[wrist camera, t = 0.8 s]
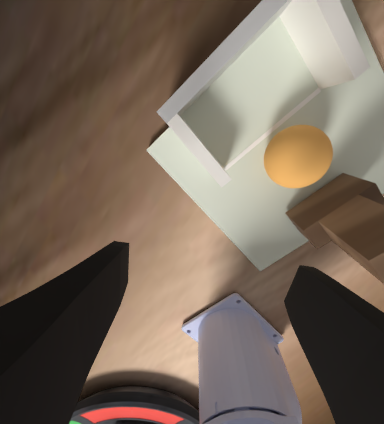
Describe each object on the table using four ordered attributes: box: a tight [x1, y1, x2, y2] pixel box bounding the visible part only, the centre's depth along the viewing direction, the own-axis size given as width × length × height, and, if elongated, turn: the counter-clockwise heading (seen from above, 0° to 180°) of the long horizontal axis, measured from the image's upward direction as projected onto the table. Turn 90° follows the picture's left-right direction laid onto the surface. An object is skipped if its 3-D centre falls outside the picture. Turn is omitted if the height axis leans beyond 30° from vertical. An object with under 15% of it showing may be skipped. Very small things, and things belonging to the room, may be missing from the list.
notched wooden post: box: [285, 173, 384, 284], centre depth 13 cm, size 2×5×7 cm, turn 132°
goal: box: [157, 0, 370, 187], centre depth 13 cm, size 6×10×4 cm, turn 132°
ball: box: [264, 125, 333, 188], centre depth 13 cm, size 4×4×4 cm
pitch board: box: [147, 0, 384, 271], centre depth 16 cm, size 15×15×1 cm
